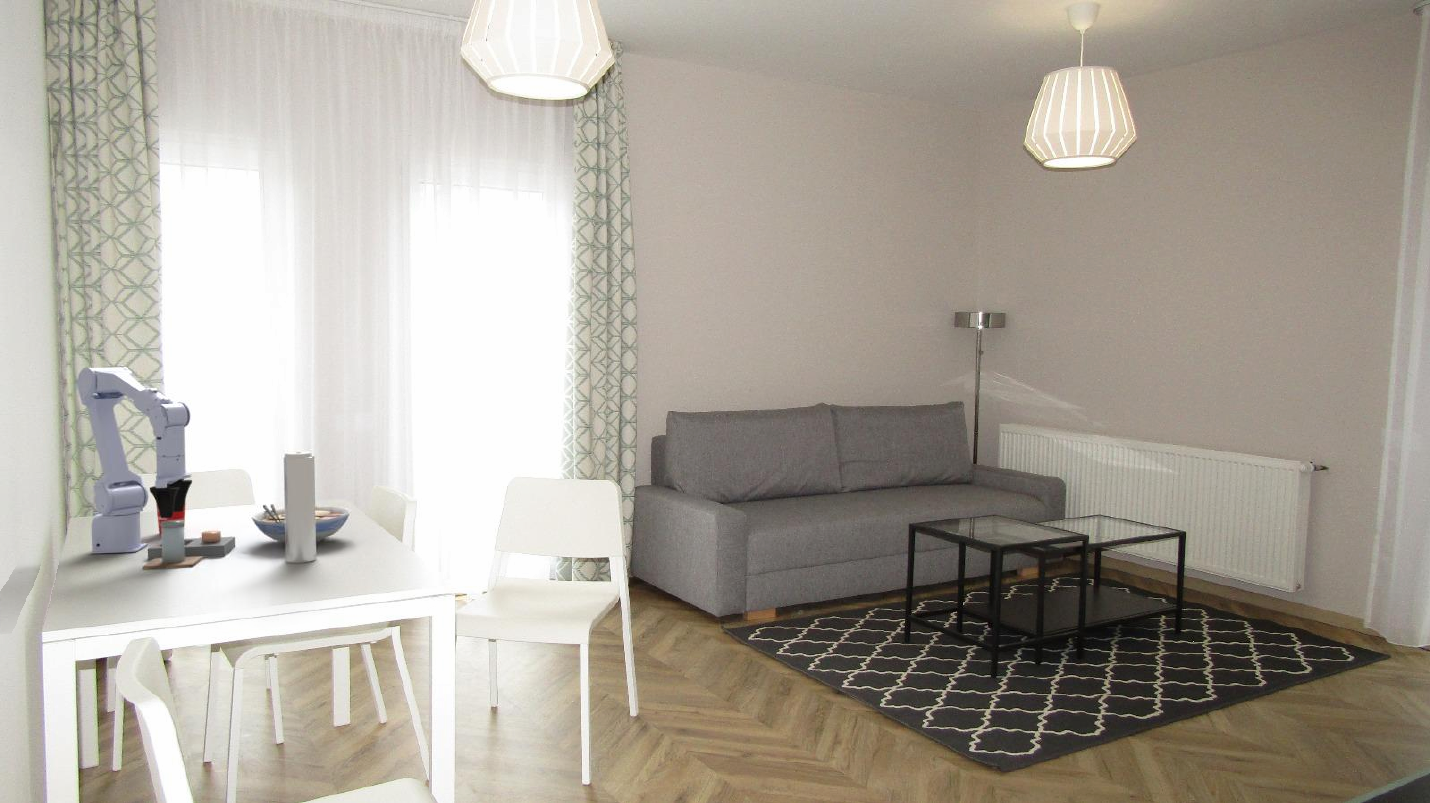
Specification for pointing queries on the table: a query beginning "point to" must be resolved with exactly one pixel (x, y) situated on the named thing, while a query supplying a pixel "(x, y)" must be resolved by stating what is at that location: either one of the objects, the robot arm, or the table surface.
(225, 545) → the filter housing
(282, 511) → the ramen bowl
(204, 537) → the plunger
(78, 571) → the table surface
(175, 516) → the paper cup
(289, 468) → the air filter
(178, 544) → the cylinder
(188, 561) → the walnut pad
